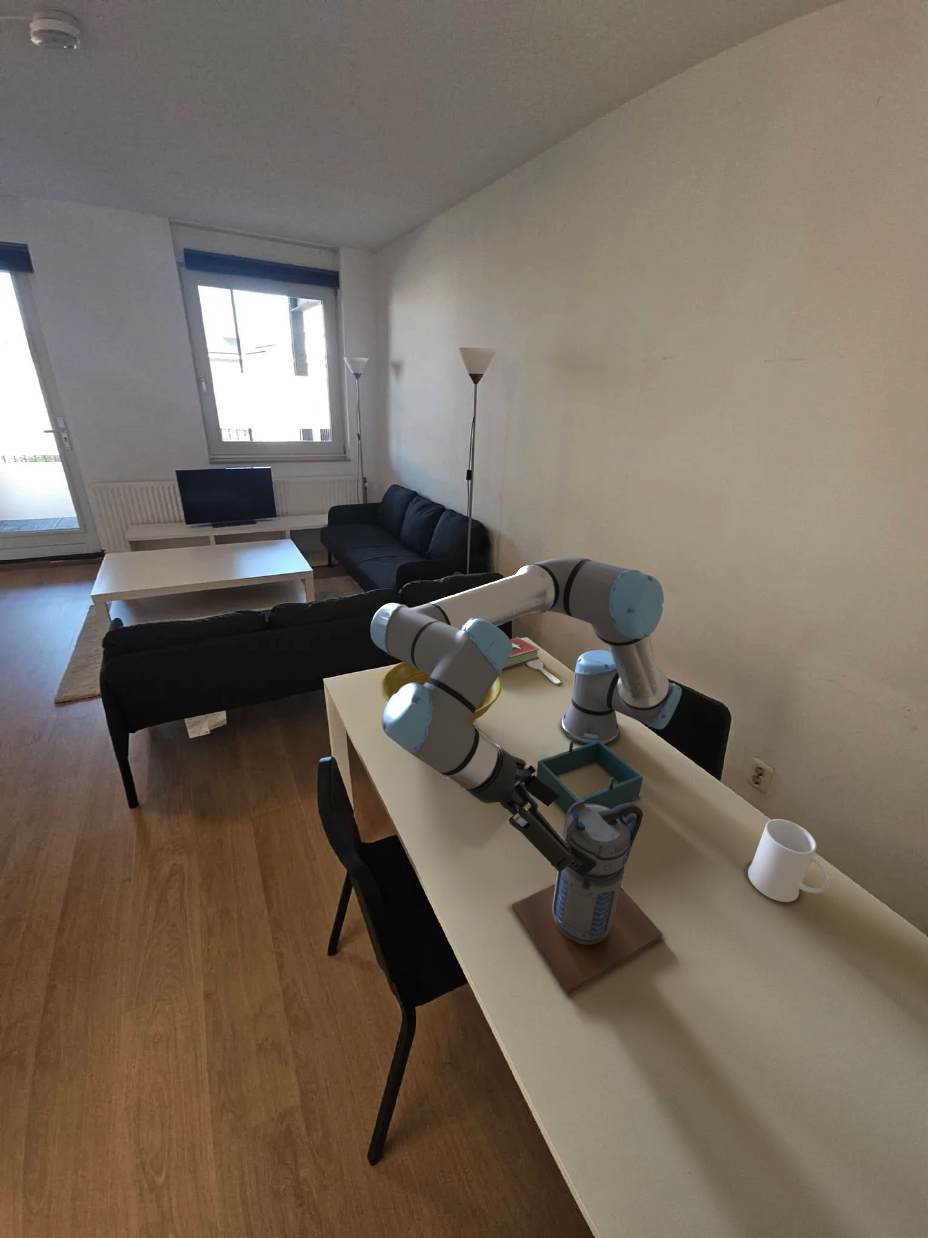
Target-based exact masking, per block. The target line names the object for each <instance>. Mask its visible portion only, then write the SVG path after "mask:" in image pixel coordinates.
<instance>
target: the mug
mask: <svg viewBox="0 0 928 1238" xmlns="http://www.w3.org/2000/svg"><path fill="white" fill-rule="evenodd" d="M816 850H817V841H816V839H815V838H814V836H813V835H812V834H811V833H810V832H809V831H808V830H806V828H804V827H803V826H801V825H799V824H797V823H795V822H793V821H790V820H787V819H781V818H773V819H770V820H768V821H767V822H766V823H765V826H764V829H763V832H762V835H761V837H760V840H759V843H758V846H757V849H756V850H755V853H754V857H753V860H752V862H751V864H750V865H749V866H748V869H747V876H748V879H749V881H750V882H751V884H752V885H753V887H754V888H755V889H756V890H757V891H759V892H760V893H761V894H762V895H763V896H765V897H767V898H769V899H772V900H774V901H776V902H782V903H791V902H794V901H795V900H797V899H798V897H799V895H800V890H801V891H803V892H806V893H809V894H821V893H822V892H823V893H824V892H825V891H826V890H827V889H828V888H829V885H830V877H829V872H828V871H827V869H826V867H825V866H824V864H823V863H822V861H821V860H819V858H818V857H817V856H816V855H815V853H816ZM811 862H812V863H814V864H815V865H816V866H817V867H818V868H819V870H820V871H821V873H822V874H823V878H824V884H823V886H822V887H820V888H814V887H813V888H812V887H809V886H807V885H805V884H804V883H803V881H804V879H805V876H806V874H807V871H808V869H809V868H810V864H811Z"/></svg>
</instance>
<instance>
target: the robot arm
mask: <svg viewBox="0 0 928 1238" xmlns="http://www.w3.org/2000/svg"><path fill="white" fill-rule="evenodd" d="M664 602H665V595H664V590H663V587H662V585H661V583H660V581H659V580H658V579H657V578H656V577H654V576H653V575H651V574H646V573H644V572H642V571H640V570H637V569H630V568H627V567H622V566H617V565H613V564H609V563H604V562H601V561H600V562H599V561H596V560H592V559H589V558H585V557H579V556H568V557H567V556H565V557H558V558H552V559H547V560H542V561H537V562H534V563H531V564H528V565H525V566H523V567H521V568H520V569H519V570H518V571H517V572H516V574H514V575H511V576H507V577H504V578H501V579H499V580H495V581H492V582H489V583H486V584H483V585H480V586H477V587H474V588H470V589H468V590H465V591H461V592H457V593H456V594H453V595H450V596H449V595H448V596H447V597H443V598H440V599H436V600H434V601H430V602H428V603H425V604H424V603H423V604H422V605H418V606H414V607H409V606H408V605H406V604H400V603H396V602H390V603H386V604H384V605H383V606H381V607H380V608H379V609H378V610H377V611H376V612H375V613H374V615H373V617H372V620H371V623H370V631H369V632H370V638H371V640H372V642H373V644H374V645H375V646H377V647H378V648H379V649H381V650H382V651H383V652H385V653H386V654H387V655H389V656H391V657H394V658H396V659H398V660H399V661H402V662H406V663H408V664H410V665H412V666H414V667H416V668H418V669H420V670H421V671H423V672H425V673H427V674H429V675H431V676H430V677H429V678H428V680H427V681H426V682H425V684H424V685H420V684H418V683H414V682H413V683H408V684H406V685H404V686H403V687H401V688H400V689H399V691H398V692H397V693H396V694H394V695H393V696H392V697H391V699H390V700H389V701H388V702H387V703H386V705H385V707H384V709H383V711H382V716H381V727H382V730H383V732H384V734H385V735H386V736H387V737H388V738H390V739H391V740H392V741H394V743H396V744H397V745H399V746H400V747H401V748H402V749H404V750H405V751H406V752H408V753H409V754H411V755H412V756H414V757H415V758H417V759H418V760H419V761H421V762H423V763H424V764H425V765H427V766H429V767H430V768H432V769H433V770H435V771H436V772H438V773H440V776H441V778H443V779H446V778H447V779H448V780H450V781H451V782H452V783H454V784H455V785H457V786H459V787H460V788H461V789H463V790H464V791H465V792H467V793H468V794H470V795H471V796H472V797H474V798H475V799H477V800H478V801H480V802H481V803H483V804H495V803H496V804H497V803H500V805H501V806H502V808H504V809H505V810H507V811H508V812H509V813H510V814H511V816H510V817H509V818H508V822H509V824H510V825H511V826H512V827H513V828H514V829H516V830H517V831H518V832H519V833H521V834H522V836H524V837H525V838H526V839H527V841H528V842H529V843H530V844H531V845H532V846H533V847H534V848H535V849H536V850H537V851H538V852H539V853H540V854H541V855H542V856H543V858H545V860H547V861H548V863H549V864H550V865H551V867H553V868H554V869H555V870H556V872H557V871H559V872H561V871H563V870H564V869H565V868H566V867H567V866H568V867H569V868H571V869H572V870H574V871H575V872H576V873H578V874H579V875H581V876H582V877H583V876H584V875H586V874H587V873H588V872H589V871H590V870H592V869H593V868H594V867H595V866H596V865H597V864H596V862H595V860H593V859H592V858H590V857H589V856H588V855H586V854H585V853H583V852H582V851H581V850H579V849H578V848H576V847H575V846H574V845H572V844H571V843H569V842H567V843H565V841H564V840H563V839H562V836H560V834H559V833H558V832H557V831H556V830H555V828H554V827H553V826H552V825H551V824H550V822H549V821H548V820H547V819H546V818H545V816H543V814H542V813H541V812H540V810H539V804H538V802H537V801H536V800H535V799H537V800H538V801H539V802H540V803H542V804H543V805H544V806H546V807H547V808H548V807H550V806H551V805H552V804H553V803H555V802H554V801H555V800H557V799H558V798H559V797H560V796H559V794H558V793H557V792H556V791H555V790H553V789H552V788H551V787H549V786H548V785H547V784H546V783H544V782H543V781H542V780H540V779H539V778H538V777H537V776H536V774H535V773H537V769H536V768H535V767H534V766H533V765H529V766H528V767H527V768H526V766H527V762H526V761H525V760H524V759H523V758H519V757H517V756H514V755H511V753H509V752H508V751H507V750H505V748H503V747H502V746H500V745H499V744H497V743H496V742H495V741H494V740H493V739H492V738H490V737H489V736H488V735H487V734H486V733H484V732H482V731H481V730H480V729H479V728H477V727H476V726H475V725H473V724H470V723H469V720H470V719H471V717H472V716H473V714H474V712H475V711H476V709H477V708H478V706H479V705H480V703H481V702H482V700H483V699H484V697H485V696H486V694H487V693H488V691H489V690H490V688H491V687H492V685H493V684H494V682H495V680H496V679H497V677H499V676H500V675H501V674H502V672H503V670H502V669H503V668H504V666H505V664H506V662H507V660H508V658H509V657H510V655H511V653H512V650H513V646H512V642H511V641H510V638H509V636H508V635H507V634H506V633H505V632H504V631H503V630H501V629H500V628H499V627H498V626H501V625H503V624H506V623H508V622H511V621H513V620H516V619H518V618H520V617H523V616H525V615H527V614H530V613H531V614H533V615H541V614H544V613H546V612H553V613H558V614H562V615H565V616H568V617H571V618H574V619H577V620H580V621H583V622H585V623H588V624H590V625H591V627H592V629H593V633H594V634H595V635H596V637H597V638H598V639H599V641H601V642H602V643H604V644H606V645H607V646H608V649H609V650H606V649H605V650H603V649H599V650H598V649H597V650H589V651H586V652H584V653H582V654H581V655H580V656H579V657H578V658H577V660H576V664H575V665H576V666H575V669H574V676H573V677H574V679H573V686H572V694H571V702H570V703H569V705H568V706H567V709H566V711H565V713H564V714H563V716H562V718H561V724H560V725H561V726H560V727H561V730H562V732H563V735H565V736H566V737H567V738H569V739H570V740H571V741H572V742H574V743H577V744H579V745H581V746H584V745H587V744H590V743H593V742H596V741H601V742H602V743H603V744H604V745H605V746H607V747H608V746H609V745H612V744H614V743H615V742H616V741H617V739H618V736H619V731H620V727H619V724H618V718H617V713H618V714H622V715H624V716H626V717H629V718H630V719H632V720H635V721H637V722H640V723H642V724H643V725H646V726H647V727H651V728H654V729H656V730H663V729H665V728H666V726H668V724H669V722H670V721H671V719H672V717H673V715H674V714H675V711H676V709H677V707H678V704H679V702H680V699H681V696H682V688H681V686H679V685H677V684H676V683H674V682H673V683H672V682H669V678H668V676H667V675H666V673H665V672H664V671H663V670H662V669H661V668H660V667H658V666H659V665H658V662H657V657H656V653H655V650H654V646H653V641H652V638H651V635H652V634H653V633H654V632H655V630H656V629H657V627H658V625H659V623H660V621H661V618H662V615H663V611H664V607H663V604H664ZM616 712H617V713H616ZM533 774H534V775H533ZM534 798H535V799H534ZM528 804H529V805H530V807H528V808H526V807H527V806H528Z"/></svg>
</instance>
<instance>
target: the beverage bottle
mask: <svg viewBox="0 0 928 1238" xmlns="http://www.w3.org/2000/svg"><path fill="white" fill-rule="evenodd" d="M584 802H585V800H581V801H578V802H576V803H574V804H573V805H572V806H571V807H570V808H569V810H568V812H567V815H566V814H565V819H564V823H563V827H562V834H561V838H562V839H563V840H564V841H565V843H567V842H569V843H571V844H572V845H574V846H575V847H576V848H578V849H579V850H581V851H582V852H583V853H585V854H586V855H588V856H589V857H590V858H592V859H593V860H595V862H596V864H597V865H596V866H595V867H594V868H593V869H592V870H590V871H589V872H588V873H587V874H586V875H584V876H583V877H582V876H581V875H579V874H578V873H576V872H575V871H574V870H572V869H571V868H569V867H568V866H567V867H566V868H565V869H564V870H563V871H561V872H559V871H557V870H556V873H557V874H556V879H555V884H556V885H555V892H554V899H553V906H552V913H553V918H554V920H555V923H556V924H557V926H558V928H559V929H560V930H561V932H562V933H563V934H564V935H565V936H566V937H568V938H569V939H571V940H574V941H575V942H577V943H579V944H584V945H591V944H595V943H598V942H600V941H602V940H604V939H605V938H606V937H607V936H608V935H609V934H610V932H611V929H612V925H613V921H614V916H615V911H616V907H617V902H618V898H619V893H620V889H621V890H622V889H623V887H622V883H623V880H624V876H625V875H624V874H625V868H626V865H627V864H628V861H629V859H630V854H631V849H632V847H633V845H634V843H635V840H636V838H637V836H638V833H639V830H640V829H641V826H642V822H643V817H644V811H643V809H642V808H641V807H640V806H638V805H637V804H634V803H632V802H627V803H625V804H621V805H618V806H616V807H615V808H613V809H610V808H607V807H605V806H601V805H597V804H584Z"/></svg>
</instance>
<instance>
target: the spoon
mask: <svg viewBox="0 0 928 1238" xmlns="http://www.w3.org/2000/svg"><path fill="white" fill-rule="evenodd" d="M525 664H526V665H527V667H529V668H531V669H534V670H538V671H540V672H541V673H542V674H543V675H544V676H545V677H546V678H547V679H548V680H550V681H551V682H552V683H553V684H555V685H559V684H561V680H560V679H559V678H557V677H556V676H555V675H553V674H552V673H550V672H549V671H548V670H546V669H545V668H544V663H543V662H542V661H541V660H539V659H535V660H532V661H528V662H526V663H525Z"/></svg>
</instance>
